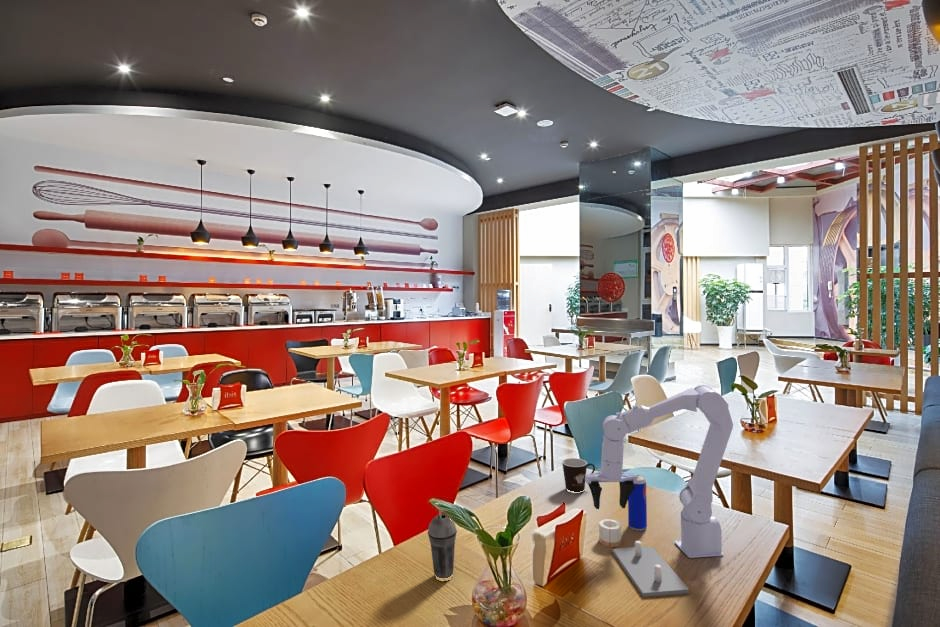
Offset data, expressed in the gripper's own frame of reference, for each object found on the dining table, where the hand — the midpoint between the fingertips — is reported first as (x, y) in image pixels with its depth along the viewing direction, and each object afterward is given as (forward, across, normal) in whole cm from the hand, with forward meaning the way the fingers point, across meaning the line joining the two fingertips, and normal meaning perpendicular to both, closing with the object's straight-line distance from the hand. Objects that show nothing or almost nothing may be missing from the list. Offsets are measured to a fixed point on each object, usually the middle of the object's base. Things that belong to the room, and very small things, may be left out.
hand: (609, 507), depth 132 cm
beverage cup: (+13, +47, +8) cm, 49 cm away
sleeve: (+10, -1, 0) cm, 10 cm away
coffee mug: (+11, -5, -35) cm, 37 cm away
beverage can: (+10, -12, -6) cm, 17 cm away
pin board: (+9, -4, +15) cm, 18 cm away
